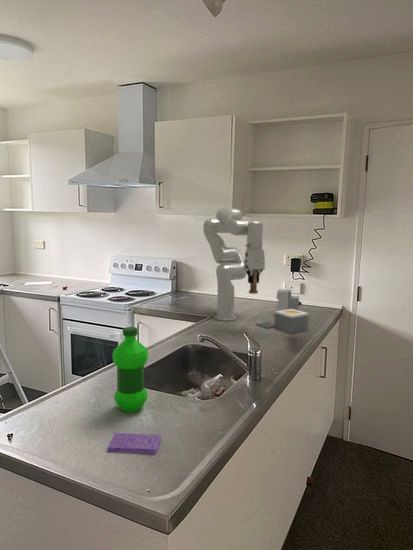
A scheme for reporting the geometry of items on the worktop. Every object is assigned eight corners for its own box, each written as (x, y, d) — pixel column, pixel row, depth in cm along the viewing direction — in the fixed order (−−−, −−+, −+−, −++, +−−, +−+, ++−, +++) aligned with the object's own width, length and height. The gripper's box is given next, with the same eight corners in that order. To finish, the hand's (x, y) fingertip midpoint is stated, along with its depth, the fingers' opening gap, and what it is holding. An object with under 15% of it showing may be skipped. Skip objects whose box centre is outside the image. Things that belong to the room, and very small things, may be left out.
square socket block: (274, 328, 221) (275, 311, 219) (290, 324, 227) (291, 308, 226) (291, 333, 211) (291, 316, 210) (307, 330, 217) (308, 313, 216)
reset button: (284, 320, 219) (284, 312, 219) (291, 319, 222) (291, 311, 221) (291, 322, 215) (291, 314, 214) (298, 321, 218) (298, 313, 217)
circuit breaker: (300, 317, 243) (302, 292, 241) (276, 316, 246) (276, 291, 244) (300, 314, 250) (301, 290, 248) (276, 313, 253) (277, 289, 251)
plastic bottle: (155, 407, 129) (154, 328, 125) (127, 419, 121) (126, 335, 117) (134, 397, 135) (133, 322, 132) (106, 408, 127) (105, 329, 124)
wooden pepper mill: (247, 292, 212) (247, 265, 210) (254, 291, 214) (254, 264, 212) (252, 294, 208) (253, 266, 206) (259, 293, 210) (260, 265, 208)
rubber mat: (255, 324, 226) (255, 324, 226) (268, 322, 231) (268, 321, 231) (266, 328, 219) (266, 327, 219) (279, 326, 224) (279, 325, 224)
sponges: (156, 456, 104) (156, 449, 104) (106, 453, 105) (106, 446, 105) (161, 440, 111) (161, 434, 111) (114, 438, 112) (114, 431, 111)
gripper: (246, 247, 200) (245, 285, 203) (272, 246, 209) (271, 282, 212) (236, 246, 207) (235, 283, 209) (262, 245, 215) (261, 280, 218)
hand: (253, 282), depth 210 cm, fingers closed on wooden pepper mill, 3 cm apart
